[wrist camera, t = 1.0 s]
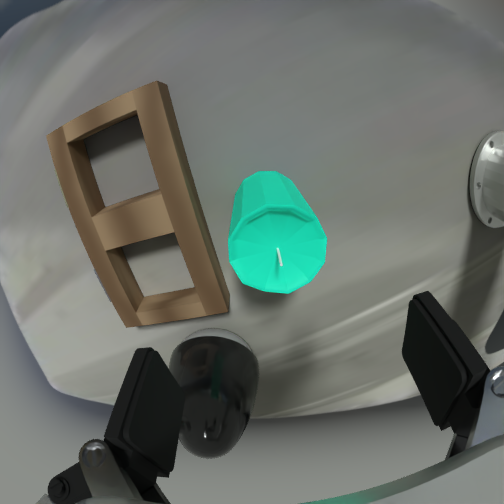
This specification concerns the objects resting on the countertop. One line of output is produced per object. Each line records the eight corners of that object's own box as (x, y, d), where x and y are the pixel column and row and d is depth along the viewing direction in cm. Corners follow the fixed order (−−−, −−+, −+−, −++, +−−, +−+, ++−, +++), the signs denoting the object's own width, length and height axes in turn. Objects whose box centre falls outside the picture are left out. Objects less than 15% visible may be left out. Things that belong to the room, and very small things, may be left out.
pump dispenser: (204, 298, 31) (181, 419, 17) (275, 342, 34) (286, 454, 20) (160, 346, 34) (131, 448, 20) (225, 380, 37) (219, 478, 23)
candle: (243, 162, 24) (240, 197, 13) (307, 180, 25) (351, 228, 14) (227, 223, 27) (214, 298, 16) (288, 238, 28) (312, 317, 17)
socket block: (167, 84, 21) (156, 80, 18) (229, 294, 30) (228, 311, 28) (60, 134, 22) (43, 137, 19) (131, 312, 31) (123, 328, 29)
